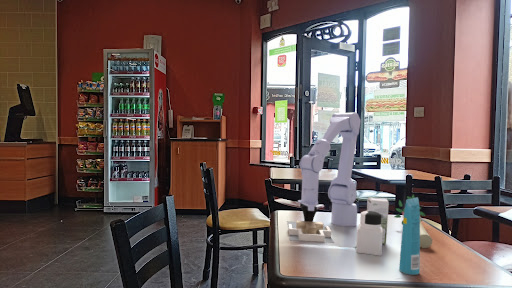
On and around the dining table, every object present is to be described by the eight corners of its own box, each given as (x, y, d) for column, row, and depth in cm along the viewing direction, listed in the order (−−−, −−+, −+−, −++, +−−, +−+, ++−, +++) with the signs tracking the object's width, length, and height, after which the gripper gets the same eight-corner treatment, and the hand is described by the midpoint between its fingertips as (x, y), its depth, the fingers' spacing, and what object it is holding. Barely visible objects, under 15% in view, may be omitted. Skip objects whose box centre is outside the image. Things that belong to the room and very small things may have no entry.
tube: (404, 265, 98) (408, 195, 98) (423, 270, 95) (427, 198, 95) (394, 273, 93) (398, 198, 92) (414, 278, 90) (418, 201, 89)
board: (323, 225, 140) (323, 223, 140) (334, 245, 114) (334, 242, 114) (286, 223, 141) (287, 221, 141) (289, 242, 115) (290, 240, 115)
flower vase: (410, 267, 119) (393, 221, 152) (450, 261, 116) (424, 215, 149) (402, 235, 117) (386, 195, 150) (442, 228, 114) (417, 189, 147)
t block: (321, 232, 127) (322, 222, 127) (325, 239, 118) (325, 228, 118) (295, 230, 127) (296, 220, 127) (297, 237, 118) (298, 227, 118)
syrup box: (382, 239, 124) (384, 197, 123) (386, 244, 118) (388, 200, 118) (365, 238, 124) (367, 196, 124) (368, 243, 118) (370, 199, 118)
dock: (327, 231, 128) (328, 226, 128) (334, 242, 115) (334, 236, 115) (288, 229, 129) (288, 223, 128) (289, 239, 116) (290, 233, 116)
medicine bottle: (381, 249, 113) (383, 211, 112) (381, 256, 106) (383, 215, 106) (357, 246, 115) (359, 208, 115) (356, 252, 108) (358, 212, 108)
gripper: (297, 185, 135) (295, 221, 136) (300, 191, 121) (298, 231, 121) (316, 186, 135) (314, 222, 135) (321, 192, 121) (319, 232, 121)
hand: (308, 227), depth 128 cm, fingers closed
